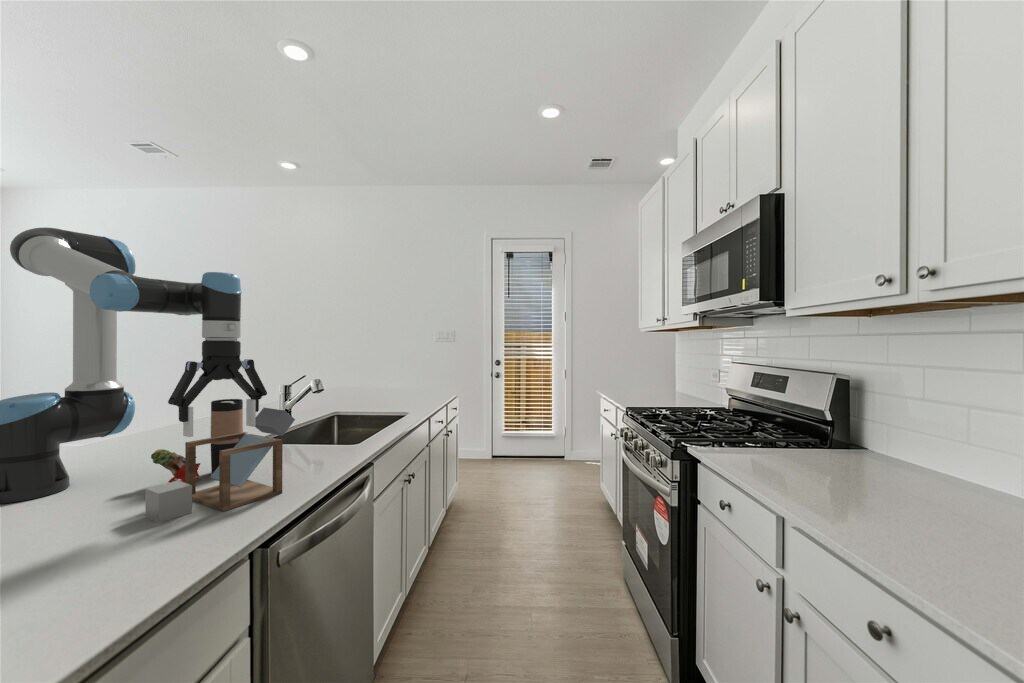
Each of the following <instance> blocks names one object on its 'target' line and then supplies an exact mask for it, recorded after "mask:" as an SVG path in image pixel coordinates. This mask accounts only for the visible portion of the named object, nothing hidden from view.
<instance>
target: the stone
mask: <svg viewBox="0 0 1024 683" xmlns="http://www.w3.org/2000/svg"><path fill="white" fill-rule="evenodd" d="M144 491H145V494H144V495H145V510H144V512H145V518H147V517H148V518H147V519H150V520H152V521H154V522H157V523H163V522H165V521H168V520H173V519H176V518H179V517H181V516H182V517H183V516H186V515H188V514H189V515H190V514H192V513H193V500H192V485H190V484H187V483H184V482H183V481H182V480H181V481H180V480H176V481H172V482H170V483H169V482H166V483H164V484H159V485H154V486H150V487H145V490H144Z"/></svg>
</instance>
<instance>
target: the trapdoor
mask: <svg viewBox="0 0 1024 683" xmlns="http://www.w3.org/2000/svg"><path fill="white" fill-rule="evenodd" d="M295 420H296V419H295V418H294V417H293V416H292V415H291V414H289V413H288V412H287V411H286V410H284V409H277V408H271V407H270V408H269V407H263V408H262V409H261V411H260V412H259V413H258V414H257V415H256V426H254V427H255V428H256V429H257V430H259V432H261V433H264V434H268V435H269V434H270V435H274V436H281V437H283V436H284V435H285V434H286V433H287V431H288V430H289V429H290V427H291V426H292V424H293V423H294V422H295ZM276 439H277V438H273V437H268V436H263V435H258V434H254V433H253V434H252V433H250V432H249V433H248V432H247V433H245V434H244V436H243V437H242V438H241V440H240V441H239V442H238V443H237V445H236V446H235V447H240V446H245V445H250V444H255V443H260V442H266V441H271V440H276ZM235 447H234V448H235ZM271 448H273V446H269V447H264V448H260V449H255V450H250V451H246V452H241V453H236V454H231V455H230V484H231V485H234V486H237V487H240V488H241V487H242V485H243V484H244V483H245V481H246V480H249V478H250V476H251V475H252V474H253V472H254V471H255V470H256V468H257V467H258V466H259V464H260V463H261V462H262V461H263V460H264V458H265V457H266V455H267V454H268V453H269V452H270V450H271ZM209 478H211V479H212V480H215V481H218V482H219V467H218V468H217V469H216V470H215V471H214V473H213V474H212V473H211V475H210V476H209Z"/></svg>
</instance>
